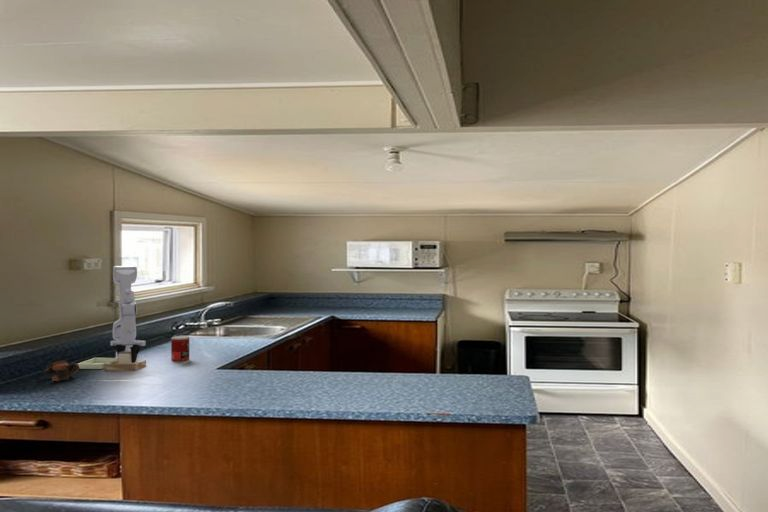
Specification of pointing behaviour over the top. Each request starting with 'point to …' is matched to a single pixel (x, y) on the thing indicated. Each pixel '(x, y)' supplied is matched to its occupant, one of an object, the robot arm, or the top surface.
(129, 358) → the grey box
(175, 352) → the canned food
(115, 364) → the dock
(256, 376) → the top surface
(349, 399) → the top surface
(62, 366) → the toy turtle
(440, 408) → the top surface
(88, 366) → the tray
